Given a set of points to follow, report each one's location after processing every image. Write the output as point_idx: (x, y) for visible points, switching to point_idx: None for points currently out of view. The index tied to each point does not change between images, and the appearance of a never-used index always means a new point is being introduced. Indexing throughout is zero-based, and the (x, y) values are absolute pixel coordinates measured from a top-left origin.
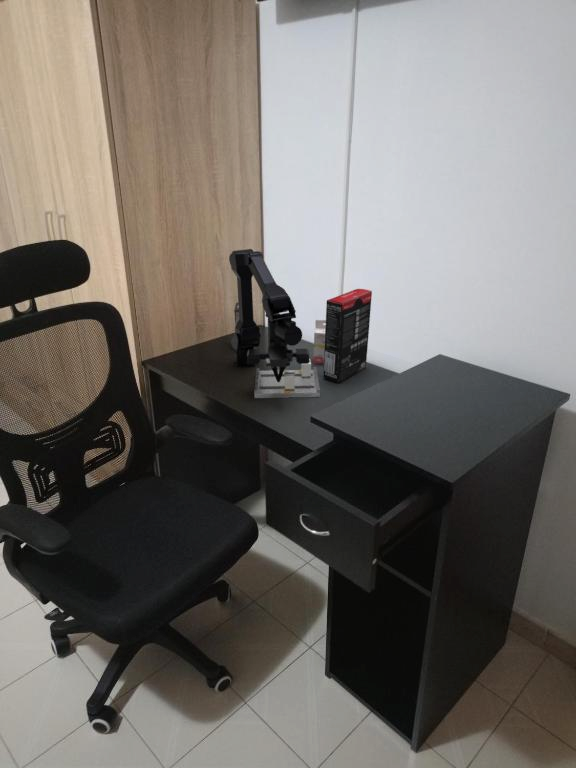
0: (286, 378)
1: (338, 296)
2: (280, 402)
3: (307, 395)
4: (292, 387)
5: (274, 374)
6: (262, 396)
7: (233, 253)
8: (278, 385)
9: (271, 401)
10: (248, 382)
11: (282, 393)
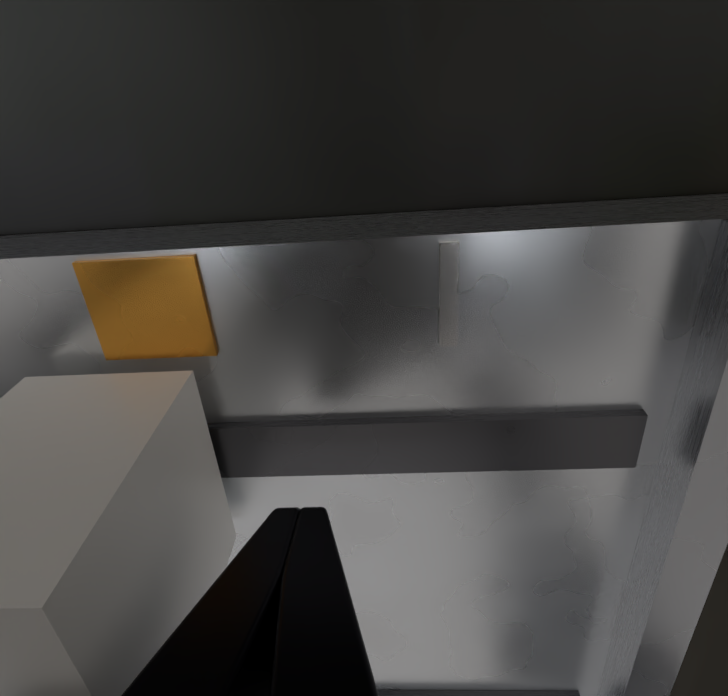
0: (34, 543)
1: None
2: (250, 23)
3: None
4: (42, 392)
5: (372, 689)
6: (598, 210)
7: None
8: (331, 500)
9: (427, 64)
10: (713, 607)
11: (221, 244)
